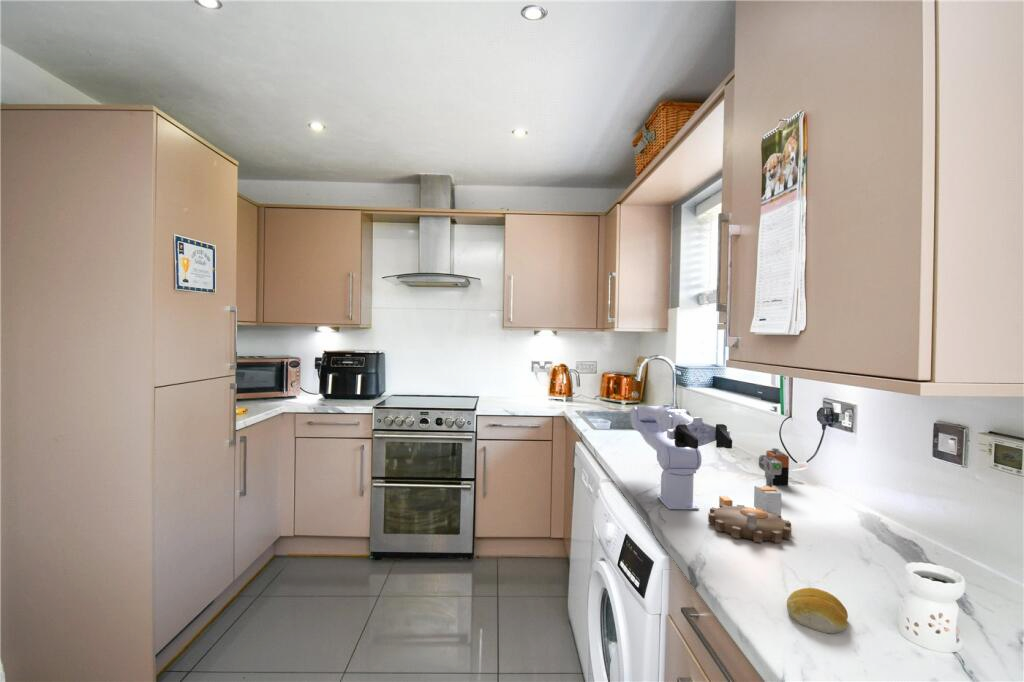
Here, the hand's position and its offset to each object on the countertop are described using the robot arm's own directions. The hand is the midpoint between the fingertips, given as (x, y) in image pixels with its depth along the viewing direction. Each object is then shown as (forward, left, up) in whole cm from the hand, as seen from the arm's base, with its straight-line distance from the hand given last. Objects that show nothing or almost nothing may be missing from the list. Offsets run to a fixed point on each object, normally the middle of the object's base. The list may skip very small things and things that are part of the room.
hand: (713, 444), depth 106 cm
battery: (-40, +38, -21) cm, 59 cm away
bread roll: (+30, +4, -21) cm, 37 cm away
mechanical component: (-30, +30, -21) cm, 47 cm away
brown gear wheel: (-5, +11, -21) cm, 24 cm away
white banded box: (-15, +21, -21) cm, 33 cm away
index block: (-16, +11, -21) cm, 28 cm away
